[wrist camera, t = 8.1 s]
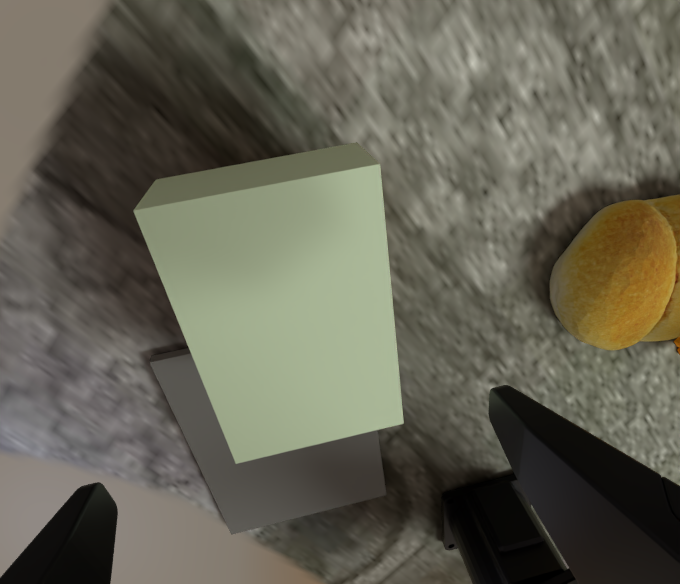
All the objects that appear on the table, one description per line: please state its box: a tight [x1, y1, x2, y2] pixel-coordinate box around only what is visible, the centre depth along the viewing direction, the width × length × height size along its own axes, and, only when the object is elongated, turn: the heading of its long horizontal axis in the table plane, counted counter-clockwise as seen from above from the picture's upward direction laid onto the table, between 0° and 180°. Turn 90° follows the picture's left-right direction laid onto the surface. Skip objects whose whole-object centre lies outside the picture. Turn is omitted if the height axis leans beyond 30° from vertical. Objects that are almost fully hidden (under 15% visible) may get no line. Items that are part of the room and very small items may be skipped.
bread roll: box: [550, 194, 680, 350], centre depth 21 cm, size 8×9×4 cm
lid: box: [133, 143, 404, 464], centre depth 15 cm, size 10×6×3 cm, turn 8°
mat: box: [149, 348, 386, 534], centre depth 24 cm, size 14×10×1 cm
